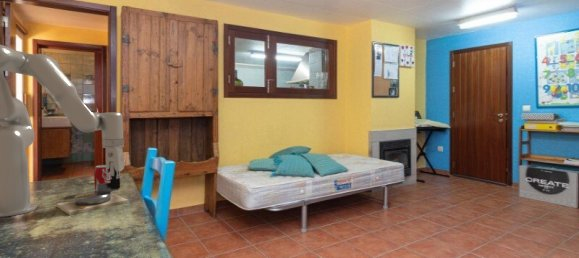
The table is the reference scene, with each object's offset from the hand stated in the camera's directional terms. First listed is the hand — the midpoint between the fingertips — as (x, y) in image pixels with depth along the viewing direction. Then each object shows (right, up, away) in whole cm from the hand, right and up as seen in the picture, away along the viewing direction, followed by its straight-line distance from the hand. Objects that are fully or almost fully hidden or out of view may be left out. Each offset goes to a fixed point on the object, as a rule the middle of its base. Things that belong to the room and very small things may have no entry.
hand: (115, 188), depth 132 cm
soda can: (-13, -5, +15) cm, 21 cm away
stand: (-7, -6, -4) cm, 10 cm away
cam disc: (-6, -4, -3) cm, 8 cm away
